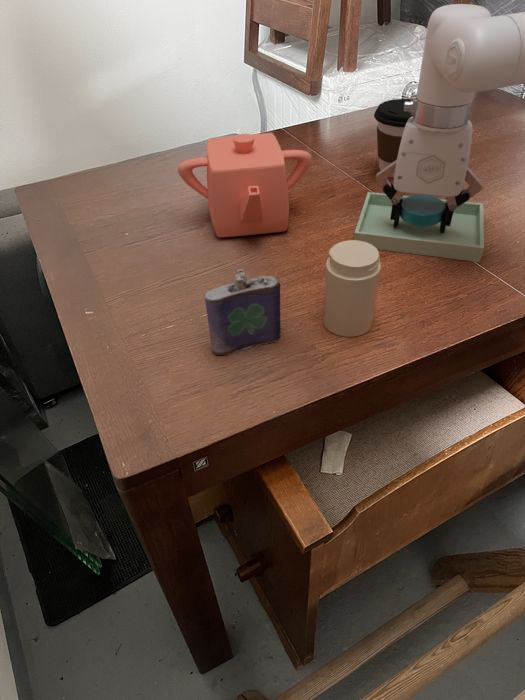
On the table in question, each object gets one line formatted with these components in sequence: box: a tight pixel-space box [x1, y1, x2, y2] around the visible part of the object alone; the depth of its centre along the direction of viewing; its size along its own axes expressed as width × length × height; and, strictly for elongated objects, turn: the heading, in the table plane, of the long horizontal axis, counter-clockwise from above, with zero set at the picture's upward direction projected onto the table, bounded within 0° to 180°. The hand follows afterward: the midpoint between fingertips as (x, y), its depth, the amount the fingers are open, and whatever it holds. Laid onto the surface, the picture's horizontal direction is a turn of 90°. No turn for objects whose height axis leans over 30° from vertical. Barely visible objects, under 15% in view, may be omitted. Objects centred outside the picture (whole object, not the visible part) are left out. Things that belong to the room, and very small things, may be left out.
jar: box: [322, 239, 382, 338], centre depth 64 cm, size 7×7×11 cm
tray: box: [353, 191, 485, 263], centre depth 82 cm, size 19×14×2 cm
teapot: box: [177, 132, 312, 238], centre depth 82 cm, size 20×22×14 cm
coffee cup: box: [373, 98, 414, 179], centre depth 96 cm, size 11×11×12 cm
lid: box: [400, 194, 445, 226], centre depth 81 cm, size 7×7×2 cm
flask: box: [204, 268, 282, 356], centre depth 61 cm, size 9×3×11 cm, turn 109°
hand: (419, 225), depth 83 cm, fingers closed on lid, 6 cm apart
